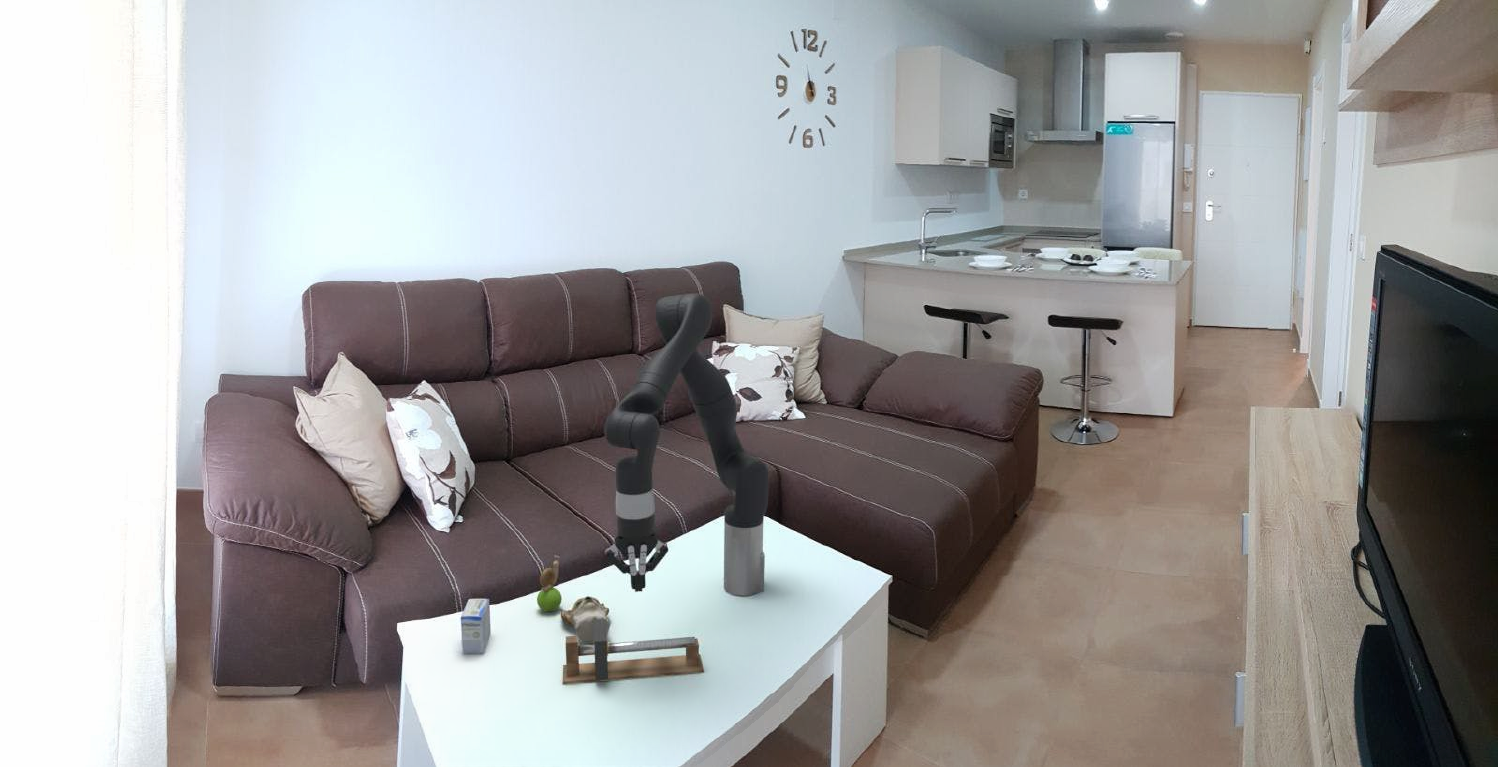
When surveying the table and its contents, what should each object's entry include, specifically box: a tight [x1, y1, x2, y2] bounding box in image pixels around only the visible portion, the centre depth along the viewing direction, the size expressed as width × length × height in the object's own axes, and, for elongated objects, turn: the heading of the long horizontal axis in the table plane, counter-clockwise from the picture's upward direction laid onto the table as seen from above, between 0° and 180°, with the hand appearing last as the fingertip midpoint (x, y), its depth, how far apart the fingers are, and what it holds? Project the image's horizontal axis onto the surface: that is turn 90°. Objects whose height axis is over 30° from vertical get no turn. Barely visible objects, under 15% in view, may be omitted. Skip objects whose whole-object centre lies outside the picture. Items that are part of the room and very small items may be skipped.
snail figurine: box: [536, 555, 562, 612], centre depth 212 cm, size 5×6×12 cm
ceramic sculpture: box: [560, 596, 611, 644], centre depth 203 cm, size 11×9×15 cm
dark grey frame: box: [593, 618, 608, 680], centre depth 187 cm, size 2×8×8 cm, turn 10°
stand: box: [562, 635, 705, 685], centre depth 189 cm, size 28×6×8 cm, turn 100°
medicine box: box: [460, 598, 491, 655], centre depth 197 cm, size 8×4×9 cm, turn 5°
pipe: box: [578, 636, 696, 657], centre depth 188 cm, size 25×3×3 cm, turn 100°
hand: (638, 589), depth 189 cm, fingers closed
